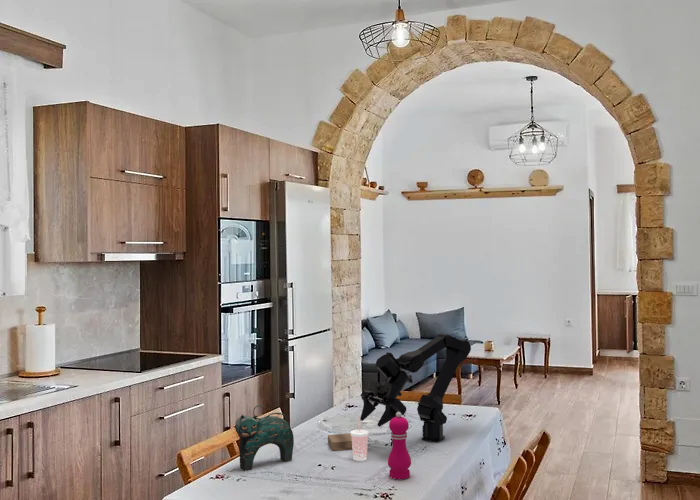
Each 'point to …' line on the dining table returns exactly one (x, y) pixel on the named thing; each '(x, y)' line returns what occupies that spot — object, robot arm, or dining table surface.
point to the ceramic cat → (263, 437)
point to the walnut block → (340, 442)
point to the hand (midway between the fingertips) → (369, 422)
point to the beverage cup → (359, 443)
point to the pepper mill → (399, 448)
